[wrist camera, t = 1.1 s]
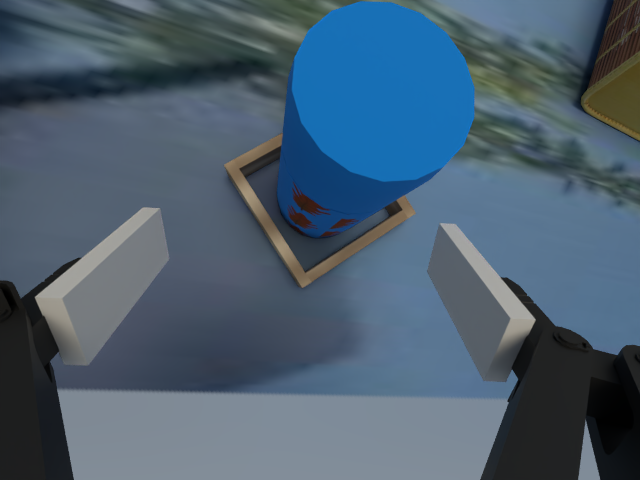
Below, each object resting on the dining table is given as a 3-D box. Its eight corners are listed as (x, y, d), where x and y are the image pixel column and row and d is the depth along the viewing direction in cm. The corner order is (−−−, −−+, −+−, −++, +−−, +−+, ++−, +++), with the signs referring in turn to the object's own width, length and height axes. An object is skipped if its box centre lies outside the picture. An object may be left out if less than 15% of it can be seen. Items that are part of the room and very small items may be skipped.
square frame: (228, 175, 41) (223, 164, 37) (336, 115, 44) (342, 99, 40) (299, 287, 41) (302, 288, 37) (402, 218, 44) (415, 213, 40)
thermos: (317, 141, 43) (382, -38, 19) (375, 198, 44) (513, 97, 19) (258, 197, 41) (243, 79, 17) (319, 257, 42) (392, 227, 17)
